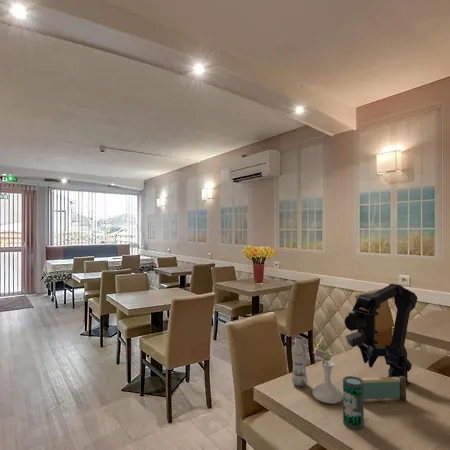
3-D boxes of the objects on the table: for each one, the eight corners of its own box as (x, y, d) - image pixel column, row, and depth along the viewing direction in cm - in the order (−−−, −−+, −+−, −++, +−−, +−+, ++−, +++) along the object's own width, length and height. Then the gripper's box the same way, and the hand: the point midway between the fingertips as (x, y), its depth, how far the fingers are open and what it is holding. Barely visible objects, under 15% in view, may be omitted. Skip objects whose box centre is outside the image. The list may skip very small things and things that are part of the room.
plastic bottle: (305, 381, 138) (305, 335, 138) (308, 389, 131) (308, 340, 131) (290, 380, 139) (290, 334, 139) (292, 388, 132) (292, 340, 132)
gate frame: (402, 398, 124) (402, 375, 124) (408, 402, 121) (408, 379, 121) (355, 400, 123) (354, 377, 123) (359, 404, 120) (358, 381, 120)
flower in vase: (321, 388, 132) (321, 328, 132) (348, 398, 124) (347, 334, 124) (304, 400, 123) (304, 335, 123) (332, 412, 115) (331, 343, 115)
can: (340, 423, 108) (340, 379, 108) (350, 417, 112) (349, 374, 112) (356, 432, 103) (356, 386, 104) (366, 425, 107) (366, 381, 107)
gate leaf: (397, 395, 123) (397, 376, 123) (400, 398, 121) (400, 379, 121) (361, 397, 122) (361, 378, 122) (363, 399, 120) (363, 380, 120)
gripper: (338, 320, 138) (338, 356, 138) (359, 335, 119) (360, 376, 119) (363, 319, 138) (363, 355, 138) (388, 334, 120) (388, 375, 120)
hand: (368, 365), depth 129 cm, fingers open, 4 cm apart
